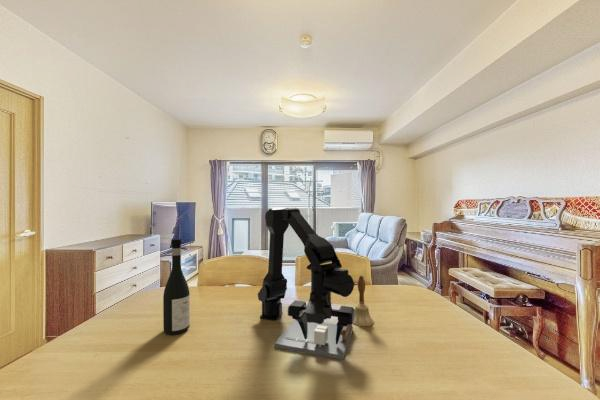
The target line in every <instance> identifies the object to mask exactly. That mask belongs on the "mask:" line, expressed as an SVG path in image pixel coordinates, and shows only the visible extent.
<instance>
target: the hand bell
mask: <svg viewBox="0 0 600 400" xmlns="http://www.w3.org/2000/svg"><path fill="white" fill-rule="evenodd" d="M357 289H358V294H359V299H358V300H359V303H356V304H355V306H354V309H355V318H354V321H353V324H352V325H355V326H357V327H371V326H372V325H374V323H375V321H374V318H373V317H371V315H370V311H369V306H368V305H367V304H366V303H365V291H366V280H365V279H364V275H359V277H358V281H357Z"/></svg>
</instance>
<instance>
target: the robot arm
mask: <svg viewBox="0 0 600 400" xmlns="http://www.w3.org/2000/svg"><path fill="white" fill-rule="evenodd" d="M264 218H265V227H266V228H267V230H268V231H269V246H268V248H269V250H268V265H267V266H268V267H267V268H268V269H267V271H268V272H267V273H266V275H265V276H264V278H263V281H262V286H261V288H260V289H259V291H258V293H257V298H258V300H259V302H261V315H260V316H259V318H260V319H266V320H272V321H277V320H278V319H279V318H280V317H281V316H282V315H283V314H284V313H283V303H282V299H285V296H286V292H287V290H288V288H287V287H288V284H287V283H288V279H287V278H285V276H284V274H283V259H284V258H283V257H284V240H285V239H284V237H285V233H286V231H287V229H288V228H289V226H290V228H292V229H293V231H294V233H295V234H296V236H297V237H298V238H299V240H300V241H301V242H302V244H303V247H304V249H303V250H304V251H303V252H304V255H305V257H306V258H307V260H308V262H309V264H308V265H306V270H309V271H310V284H311V285H310V293H309V300H308V303H307V302H306V301H303V300H296V299H295V300H294V301H293V302H291V304H289V305H288V307H287V316H289V317H291V318H292V319H293V320H294V319H295V320H297V321H298V323H299V325H300V327H301V330H302V333H303V335H304V338H305V339H307V333H308V328H307V322H309V323H311V322H313V323H317V324H322V323H323V322H324V321H325V320H327V319H328V320H331V319H332V317H336V318H337V323H336V324H337V332H336V344H338V341H339V338H340V335H341V332H342V329H343V327H344V326H348V324H352V325H354V324H353V321H354V318H355V307H353V306H345V305H340V307H339V309H334V308H333V306H332V293H333V294H335V295H338V296H340V297H343V298H347V297H349V296H350V295H351V294H352V293H353V290H354V287H355V281H354V279H353V277H352V276H351V275H350V274H349V270H348V269H345V268H342V263H341V261H340V259H339V257H338V255H337V253H336V251H335V247H334V246H333V245H332V243H331V242H329V241H328V240H327V239H326V238H324V237H322V236H320V235H318V233H316V232H315V230H314V229H313V228H312V226H311V225H310V224H309V222H308V221H307V220H306V219H305V217H304V216H303V215H302V213H301V211H300V208H297V207H285V208H283V207H282V208H269V209H268V210H267V211H266V212H265V215H264ZM324 323H325V322H324Z"/></svg>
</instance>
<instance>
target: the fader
mask: <svg viewBox="0 0 600 400" xmlns="http://www.w3.org/2000/svg"><path fill="white" fill-rule="evenodd" d="M327 339H328V326H321V325H318V326H317V327H316V329H315V330H314V344H319V345H325V343H326V341H327Z"/></svg>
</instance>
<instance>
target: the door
mask: <svg viewBox="0 0 600 400" xmlns="http://www.w3.org/2000/svg"><path fill="white" fill-rule="evenodd" d="M350 328H351V324H348V326H344V327H343V329H342V332H341V335H342V342H346V340H347V337H348V334H349V331H350Z"/></svg>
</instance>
